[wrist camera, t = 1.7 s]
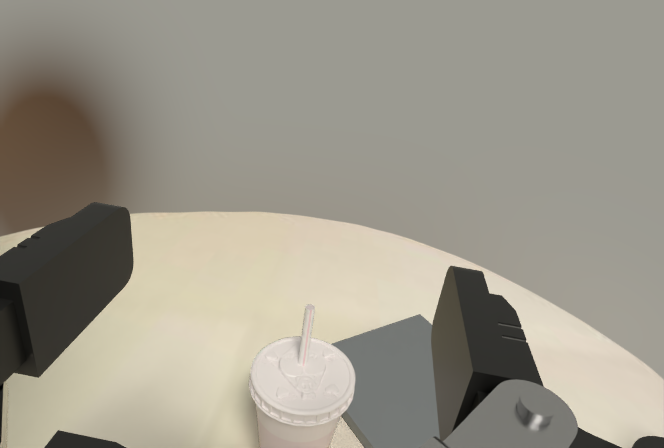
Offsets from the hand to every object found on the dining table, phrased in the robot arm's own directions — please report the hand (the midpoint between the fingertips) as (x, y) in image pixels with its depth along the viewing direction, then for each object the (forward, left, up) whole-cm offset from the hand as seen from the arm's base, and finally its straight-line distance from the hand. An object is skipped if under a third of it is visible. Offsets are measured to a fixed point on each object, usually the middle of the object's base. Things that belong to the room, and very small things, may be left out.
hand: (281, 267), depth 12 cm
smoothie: (-9, +7, -24) cm, 27 cm away
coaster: (-11, +20, -24) cm, 33 cm away
